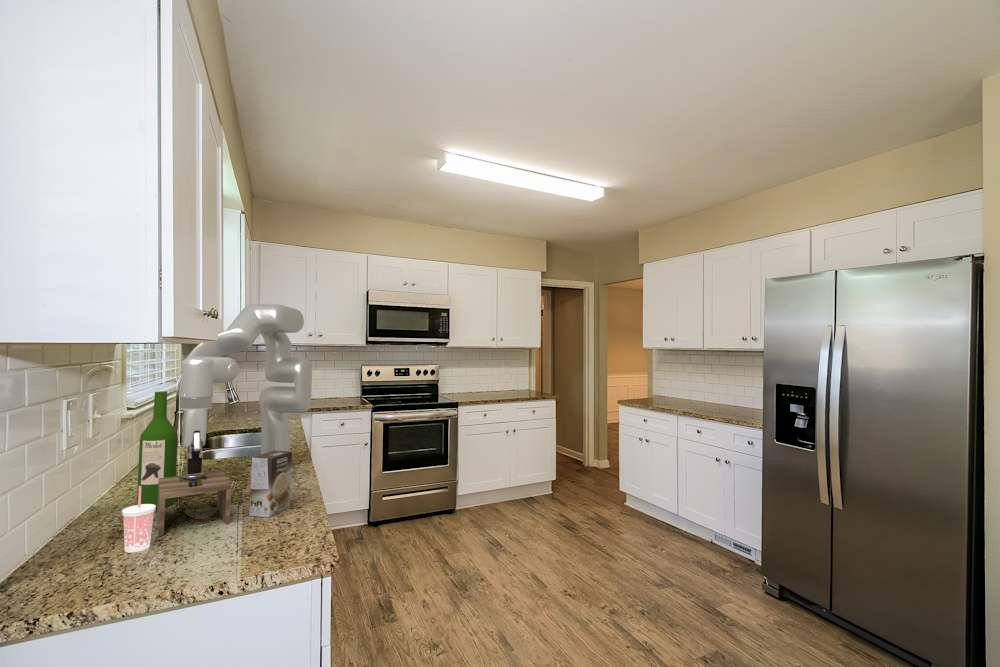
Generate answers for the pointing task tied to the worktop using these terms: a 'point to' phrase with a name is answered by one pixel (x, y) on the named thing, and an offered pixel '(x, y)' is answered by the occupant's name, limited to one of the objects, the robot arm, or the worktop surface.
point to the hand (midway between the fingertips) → (193, 470)
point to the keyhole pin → (192, 475)
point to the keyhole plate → (212, 483)
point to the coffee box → (270, 483)
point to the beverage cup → (138, 526)
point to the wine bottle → (157, 453)
